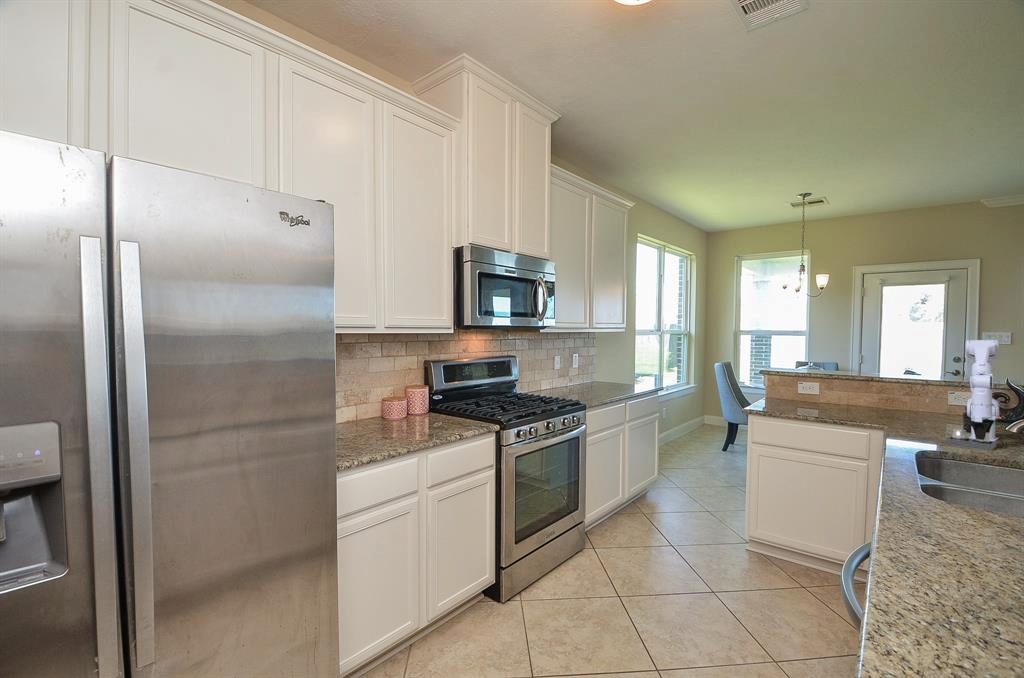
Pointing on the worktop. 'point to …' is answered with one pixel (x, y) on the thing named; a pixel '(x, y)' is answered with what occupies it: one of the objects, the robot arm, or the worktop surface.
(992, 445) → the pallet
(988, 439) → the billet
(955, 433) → the billet
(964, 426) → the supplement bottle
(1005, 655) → the worktop surface
